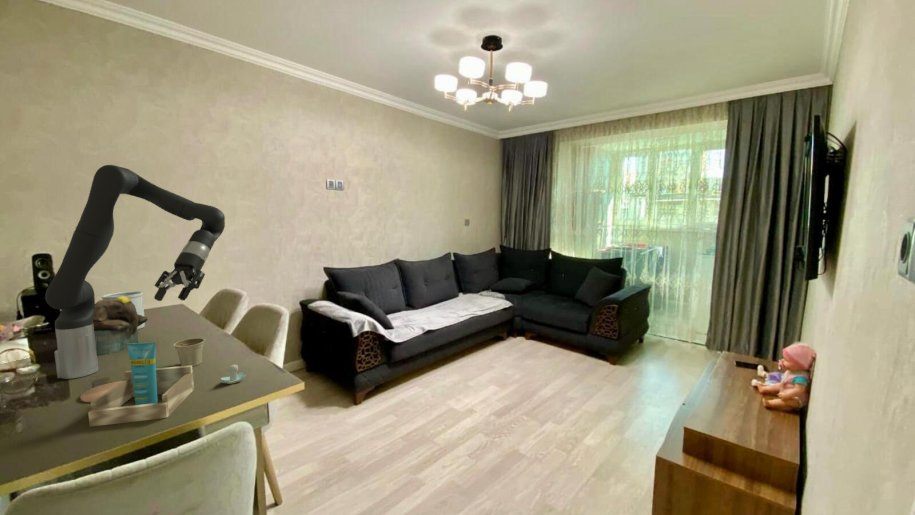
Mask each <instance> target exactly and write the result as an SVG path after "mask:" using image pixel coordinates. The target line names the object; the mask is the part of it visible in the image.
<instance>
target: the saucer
mask: <svg viewBox="0 0 915 515" xmlns="http://www.w3.org/2000/svg"><path fill="white" fill-rule="evenodd" d="M121 381H122V380H118V381H111V382H108V383H104V384H100V385H98V386H94V387H92V388H89V389H88V390H86V391H84V392H82V393H81V395H80V401H81V402H83V403H91V402H92V401H94V400H95V399H97V398H98V397H100V396H101V395H103V394H104V393H105V392H107V391H108V390H110V389H111V388H113V387H114V386H116V385H117V384H119V383H120V382H121Z"/></svg>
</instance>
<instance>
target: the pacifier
mask: <svg viewBox="0 0 915 515" xmlns="http://www.w3.org/2000/svg"><path fill="white" fill-rule="evenodd" d="M238 371H239V366H238V365H237V364H231V365H230V366H229V367H228V368H227V372H228V373H229V376H224V377H220V380H221V383H222V384H227V385H233V384H236V383H239V382H240V381H242V380H243V379H244V378H245V377H246V375H247V373H246V371H245V372H239V373H238Z"/></svg>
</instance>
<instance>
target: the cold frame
mask: <svg viewBox="0 0 915 515" xmlns="http://www.w3.org/2000/svg"><path fill="white" fill-rule="evenodd" d="M120 381H121V382H120V383H119V384H117V385H116V386H114V387H113V388H111V389H110V390H108V391H107V392H105V393H104V394H103V395H101V396H100V397H98V398H97V399H95V400H94V401H92V402H90V408H91V409H90V410H89V411H88V422H89V427H99V426H105V425H106V426H107V425H114V424H115V425H118V424H124V423H133V422H142V421H150V420H159V419H161V420H162V419H167V418H168V417H169V416H170V415H171V414H172V413H173V412H174V411H175V410H177V408H178V407H179V406H180V405H181V403H182V402H184V400H185V399H187V398H188V396H190V394H191V393H192V392H194V390H195V386H194V385H195V384H194V370H193V367H192V365H191V366H181V365H180V366H171V367H170V366H169V367H158V368H157V367H156V382H157V396H158V395H161V399H162V402H158V403H153V404H143V405H136V404H134V405H127V406H125V405H124V404H125V403H126V402H128V400H130V399H131V398H135V395H134V387H133V379H132V371H131V370H126V371H125V372H124V379H123V380H120ZM122 405H124V406H122Z"/></svg>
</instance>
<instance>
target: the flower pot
mask: <svg viewBox="0 0 915 515" xmlns="http://www.w3.org/2000/svg"><path fill="white" fill-rule="evenodd" d="M205 341H206V339H205V338H202V337H201V338H200V337H193V338H187V339H183V340H179V341H177V342H175V343H173V347H175V350H176V352H177V355H178V359H179V363H180V366H191V365H192V366H193V367H195V366H199V365H200V364H201V363H202V360H203V346H204V344H205Z"/></svg>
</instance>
